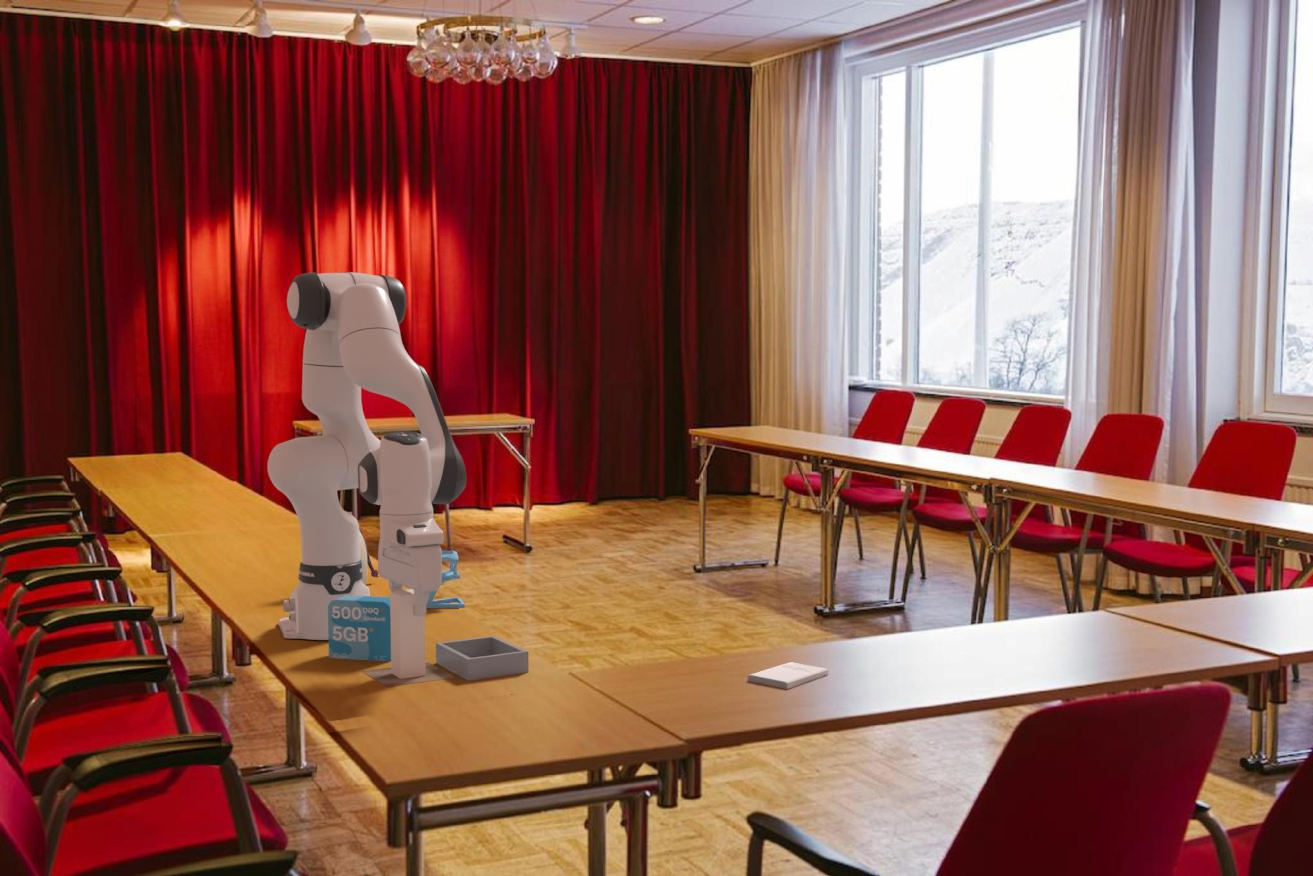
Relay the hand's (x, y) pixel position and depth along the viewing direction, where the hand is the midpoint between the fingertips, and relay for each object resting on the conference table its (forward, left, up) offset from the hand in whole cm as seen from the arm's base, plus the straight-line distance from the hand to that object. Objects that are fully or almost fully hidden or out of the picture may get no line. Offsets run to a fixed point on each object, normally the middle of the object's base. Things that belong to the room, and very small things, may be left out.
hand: (409, 611), depth 227 cm
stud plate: (0, 0, -12) cm, 12 cm away
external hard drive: (+30, +57, -13) cm, 65 cm away
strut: (0, 0, -11) cm, 11 cm away
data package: (-16, -2, -13) cm, 21 cm away
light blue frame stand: (-58, +30, -13) cm, 67 cm away
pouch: (-84, +17, -13) cm, 87 cm away
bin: (+2, +12, -12) cm, 18 cm away
